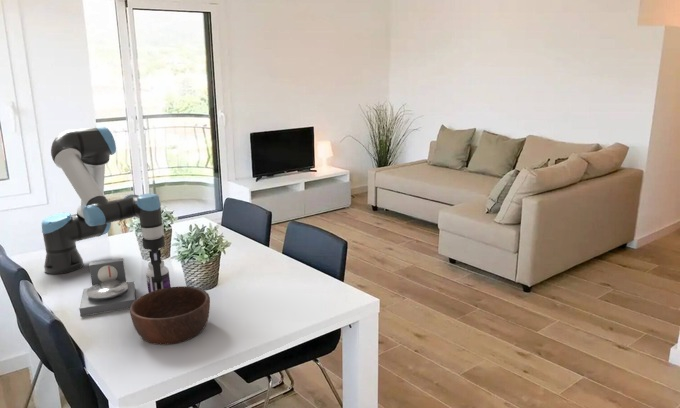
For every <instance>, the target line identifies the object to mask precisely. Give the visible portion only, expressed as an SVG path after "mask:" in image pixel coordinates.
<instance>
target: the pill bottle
mask: <svg viewBox="0 0 680 408" xmlns="http://www.w3.org/2000/svg"><path fill="white" fill-rule="evenodd" d="M147 266H148V269H147V270H146V271H145V278H146V285H147V291H148V292H147V293H150V292H152V291H155V283H153V281H154V280H155V279H154V271H153V265H152V264H151V261H150V262H148V263H147ZM160 269H161V277H162V282H163V288H169V287H172V286H171V280H170V279H171V278H170V271H169V268H168V267H167V266H165V261H164V260H162V259H161V264H160ZM157 279H159V278H157Z"/></svg>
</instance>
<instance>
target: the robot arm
mask: <svg viewBox="0 0 680 408" xmlns="http://www.w3.org/2000/svg"><path fill="white" fill-rule="evenodd" d="M116 151H117V147H116V140H115V138H114V136H113V133H112V131H110V129H109V128H107V127H105V126H94V127H89V128H78V129H77V128H76V129H67V130H65V131H64V130H63V131H62V132H61V133H59V134H58V135H57V136H56V137H55V138H54V140H53V141H52V144H51V147H50V155H51V159H52V161H53V163H54V164H55V166H56V167H57V168H59V169H61V170H62V171H63V174H64V175H65V177H66V178H67V180H68V181H69V183H70V184H71V186H72V188H73V189H74V191H75V193H76V194H77V195H78V197H79V199H80V205H79V206H78V207H77V209H76V213H75V214H71V213H70V212H62V213H61V212H58V213H55V214H52V215H50V216H47V217H46V218H44V219H43V220H42V222H41V233H42V236H43V242H44V247H45V248H44V249H45V254H46V255H45V261H44V265H43V268H44V271H45V273H46V274H51V275H58V274H59V275H60V274H68V273H71V272H74V271H77V270H80V269H81V268H82V267H83V266H84V260H83V258H82V256H81V253H80V252H79V251H78V249H77V243H76V242H80V241H83V240H88V239H92V238H97V237H101V236H104V235H106V234H108V233H109V232H110V230H111V227H112V223H115V222H119V221H123V220H124V221H125V220H127V219H132V218H138V219H139V222H140V228H139V230H138V231H139V232H140V233H141V239H142V247H143V249H145V250H147V251H148V250H149V252H148V254H149V259H150V262H151V264H152V265H153V271H154V279H155V280H154V281H153V283H155V290H159V289H163V282H162V277H161V269H160V264H161V260H162V259H161V258H162V252H161V249H162V248H163V247H165V245H166V242H165V236H164V234H165V231H164V223H163V218H162V217H163V216H162V208H161V206H162V205H161V201H160V196H159V195H158V194H156V193H142V194H140V195H138V194H130V193H129V194H128V195H127V194H126V196H125V197H123V198H119V199H115V200H108V198H107V197H106V195H105V194H104V189H105V171H106V165H107V164H108V163H109V161H110V157H111V156H112V155H115V153H116ZM157 278H159V279H157Z"/></svg>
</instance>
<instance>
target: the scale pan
mask: <svg viewBox="0 0 680 408" xmlns="http://www.w3.org/2000/svg"><path fill="white" fill-rule="evenodd" d="M126 282H127V281H126ZM126 282H124V281H106V282H102V283H98V284H96V285H93V286H92V285H91V286H90V287H88V288H89V289H88V290H87V296H88V297H89V298H91V299H108V298H113V297H116V296H119V295H121V294H123V293H125V292H126V291H127V290H128V284H127V283H126Z"/></svg>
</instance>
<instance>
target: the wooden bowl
mask: <svg viewBox="0 0 680 408" xmlns="http://www.w3.org/2000/svg"><path fill="white" fill-rule="evenodd" d="M210 305H211V298H210V295H209V293H208V292H207V291H206V290H204V289H201V288H199V287H194V286H171V287H169V288H163V289H159V290H155V291H152V292H150V293H148V292H147V293H145V294H143V295H142V296H141V295H140V297H138V298H137V299H135V301H134V302H133V303H132V305H131V306H130V308H129V315H130V318H131V321H132V324H133V327H134V329H135V331H136V333H137V334H138V335H139V336H140V338H141V339H143V340H144V341H146V342H148V343H150V344H154V345H161V346H162V345H166V346H167V345H175V344H178V343H182V342H185V341H188V340H191V339H192V338H195V337H196V336H198V335H199V334H200V333H201V332H202V331H203V330H204V328H205V327H206V326H207V323H208V319H209V316H210V309H211V307H210Z"/></svg>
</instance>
